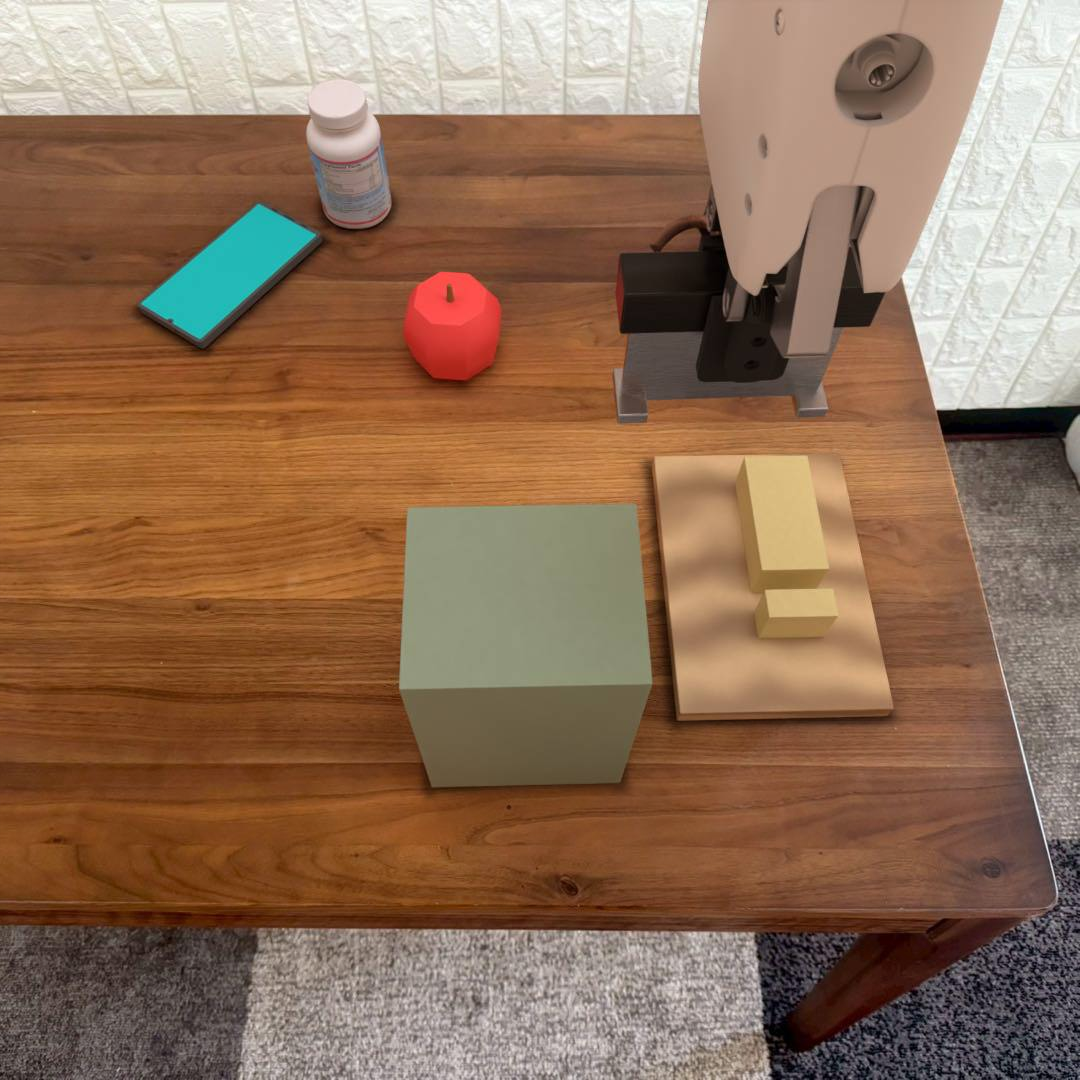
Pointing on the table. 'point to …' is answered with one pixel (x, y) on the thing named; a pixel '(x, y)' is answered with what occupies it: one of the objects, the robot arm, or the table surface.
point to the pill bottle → (347, 155)
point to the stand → (524, 642)
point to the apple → (452, 325)
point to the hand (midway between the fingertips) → (733, 343)
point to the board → (728, 605)
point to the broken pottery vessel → (680, 230)
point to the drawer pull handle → (678, 324)
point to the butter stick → (780, 523)
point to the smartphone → (230, 273)
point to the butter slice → (795, 613)
